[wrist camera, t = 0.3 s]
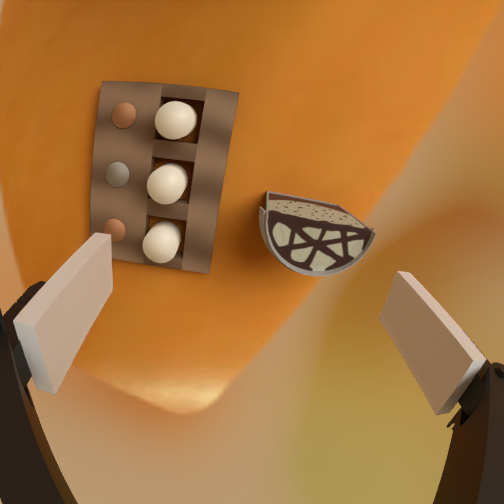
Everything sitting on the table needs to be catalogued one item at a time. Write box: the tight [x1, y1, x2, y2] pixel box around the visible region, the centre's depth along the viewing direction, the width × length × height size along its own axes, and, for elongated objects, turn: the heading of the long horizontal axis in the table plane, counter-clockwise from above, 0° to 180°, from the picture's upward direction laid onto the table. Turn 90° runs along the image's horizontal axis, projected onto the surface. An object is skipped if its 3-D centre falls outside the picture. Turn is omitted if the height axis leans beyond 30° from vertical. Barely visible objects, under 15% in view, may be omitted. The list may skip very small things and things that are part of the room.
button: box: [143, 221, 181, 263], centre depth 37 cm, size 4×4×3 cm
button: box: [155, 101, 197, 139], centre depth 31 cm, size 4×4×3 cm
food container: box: [259, 191, 376, 276], centre depth 35 cm, size 12×6×10 cm, turn 79°
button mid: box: [147, 163, 188, 204], centre depth 34 cm, size 4×4×3 cm
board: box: [90, 81, 239, 274], centre depth 36 cm, size 22×16×2 cm
